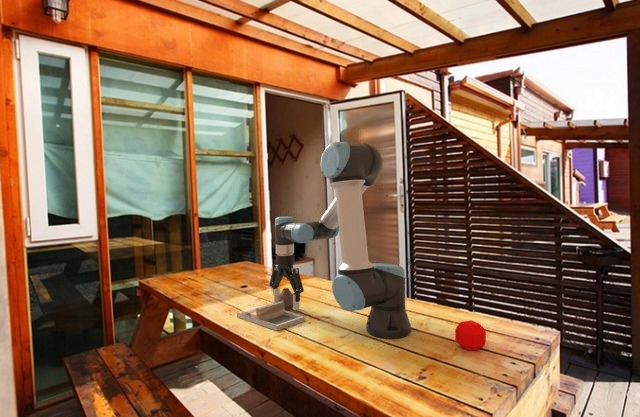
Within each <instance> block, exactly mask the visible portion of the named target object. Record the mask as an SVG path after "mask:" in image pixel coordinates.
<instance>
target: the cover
mask: <svg viewBox="0 0 640 417" xmlns="http://www.w3.org/2000/svg"><path fill="white" fill-rule="evenodd" d="M284 311H285V308H284V302H283V301H280V302H277V303H274V302H273V303H267V302H266V303H263V304H260V305H256V306H253V307H248V308H245V309H242V310H241V312H242V314H245V315H248V316H251V317H254V318H257V319H262V318H265V317H268V316H271V315H274V314H278V313H281V312H284Z"/></svg>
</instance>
